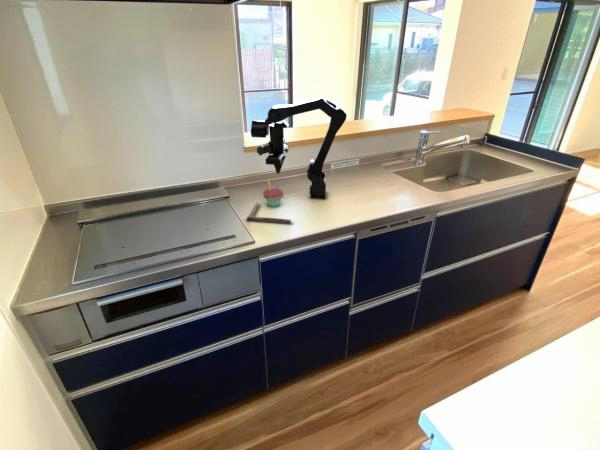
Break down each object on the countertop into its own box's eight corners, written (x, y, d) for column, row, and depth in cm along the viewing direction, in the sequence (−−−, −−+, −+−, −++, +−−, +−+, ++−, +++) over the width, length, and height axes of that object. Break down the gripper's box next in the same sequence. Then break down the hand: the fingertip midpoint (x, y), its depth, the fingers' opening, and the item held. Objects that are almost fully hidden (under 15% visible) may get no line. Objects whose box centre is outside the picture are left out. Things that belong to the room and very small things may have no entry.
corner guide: (295, 208, 142) (295, 205, 142) (290, 224, 131) (290, 220, 130) (255, 205, 144) (255, 202, 144) (247, 220, 133) (246, 217, 133)
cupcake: (268, 210, 141) (266, 182, 135) (260, 201, 148) (258, 175, 142) (287, 205, 145) (286, 179, 139) (278, 197, 151) (277, 172, 145)
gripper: (263, 131, 152) (265, 165, 159) (251, 143, 136) (254, 180, 143) (288, 132, 150) (288, 166, 158) (279, 144, 134) (280, 182, 142)
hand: (278, 173), depth 150 cm, fingers closed
